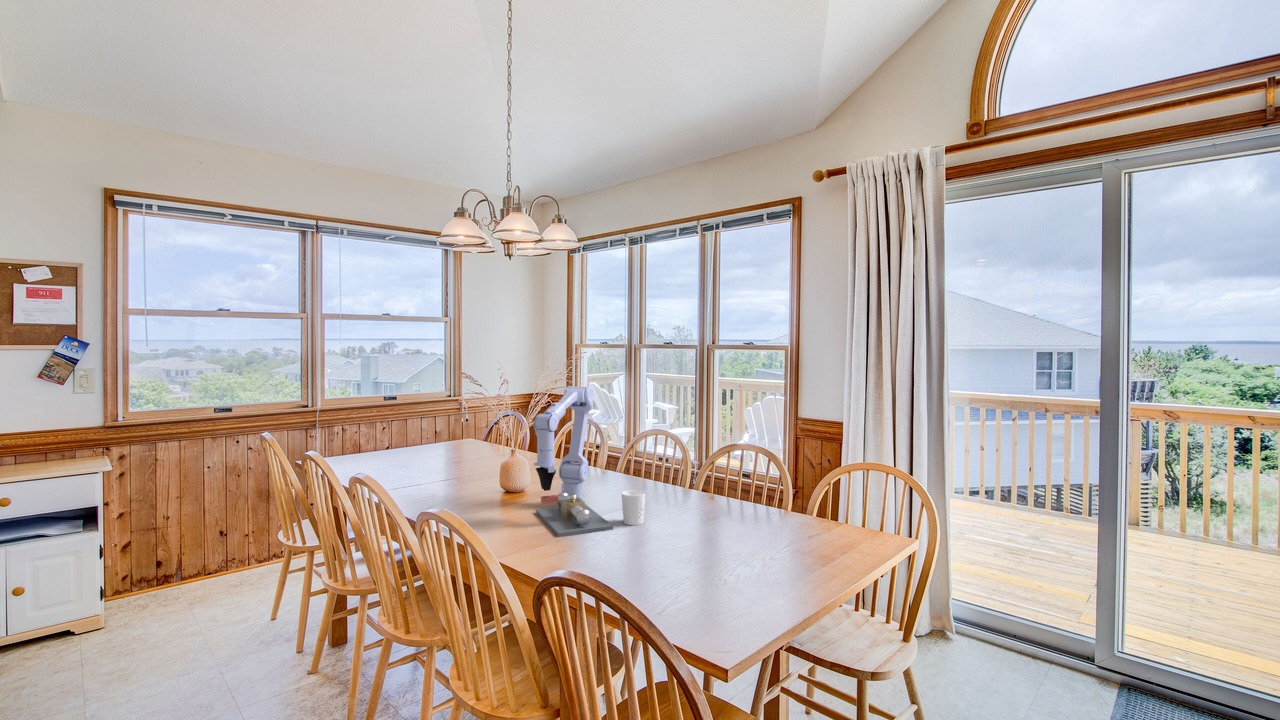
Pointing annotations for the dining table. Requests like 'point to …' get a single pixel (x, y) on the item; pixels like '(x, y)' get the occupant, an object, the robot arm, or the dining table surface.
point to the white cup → (633, 507)
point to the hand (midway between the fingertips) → (545, 489)
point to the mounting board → (566, 527)
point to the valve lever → (557, 498)
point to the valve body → (574, 510)
